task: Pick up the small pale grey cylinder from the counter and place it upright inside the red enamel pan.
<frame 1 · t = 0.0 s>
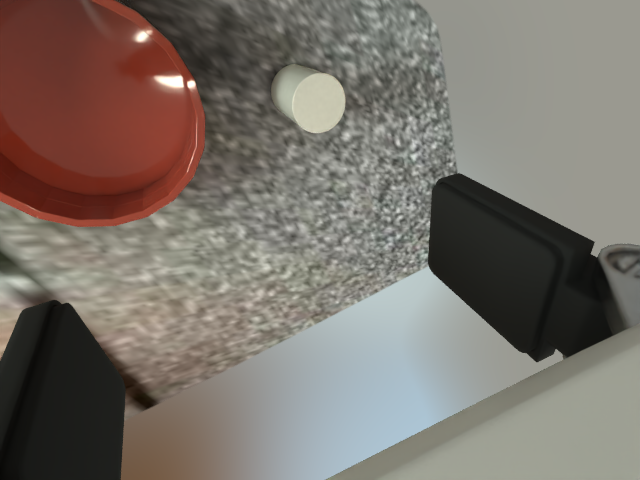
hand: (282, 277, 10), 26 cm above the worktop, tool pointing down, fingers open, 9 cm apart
pan: (92, 106, 28), on the worktop
pale grey cylinder: (294, 91, 33), on the worktop
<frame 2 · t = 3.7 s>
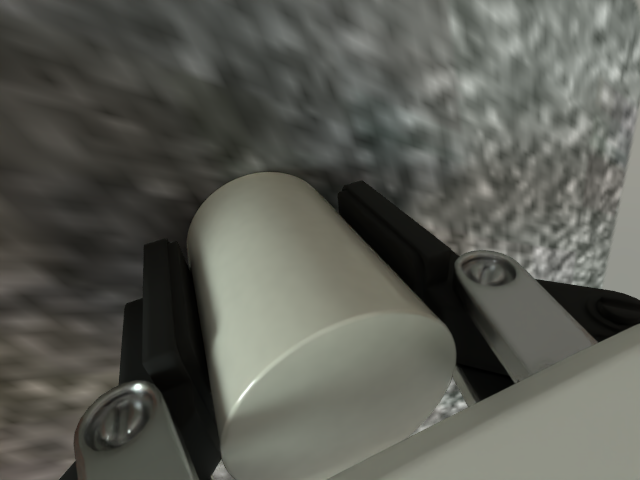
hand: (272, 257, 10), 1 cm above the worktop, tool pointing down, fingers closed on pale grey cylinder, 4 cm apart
pale grey cylinder: (263, 241, 11), on the worktop, touching gripper
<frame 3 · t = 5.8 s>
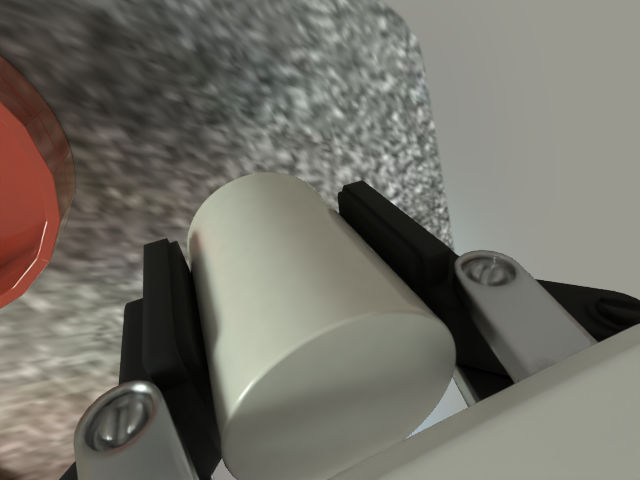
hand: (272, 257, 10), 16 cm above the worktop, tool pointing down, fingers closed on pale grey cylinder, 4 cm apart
pale grey cylinder: (264, 241, 11), point 15 cm above the worktop, touching gripper
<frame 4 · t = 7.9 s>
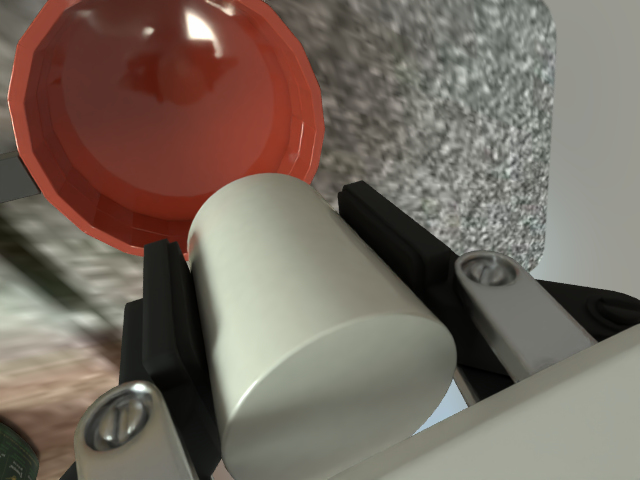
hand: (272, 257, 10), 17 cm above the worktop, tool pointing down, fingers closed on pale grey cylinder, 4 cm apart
pan: (184, 118, 23), on the worktop
pale grey cylinder: (264, 242, 11), point 16 cm above the worktop, touching gripper
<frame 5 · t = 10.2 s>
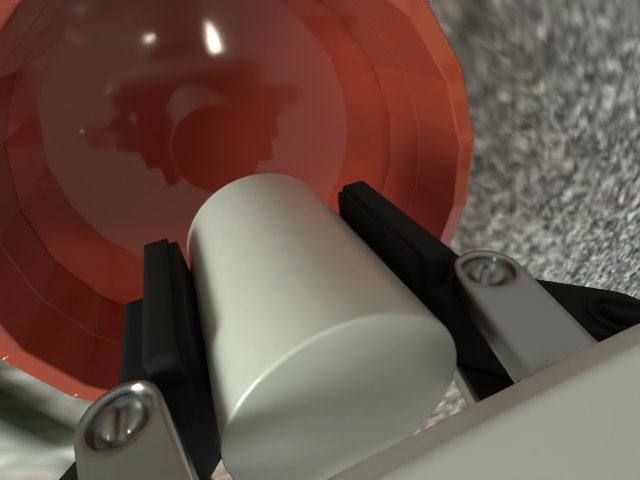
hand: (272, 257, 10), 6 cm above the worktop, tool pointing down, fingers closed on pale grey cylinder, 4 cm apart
pan: (231, 177, 15), on the worktop
pale grey cylinder: (264, 242, 11), point 5 cm above the worktop, touching gripper
when the fingers open (1 cm above the worktop, at t = 11.9 s): pale grey cylinder stays where it is, resting on pan.
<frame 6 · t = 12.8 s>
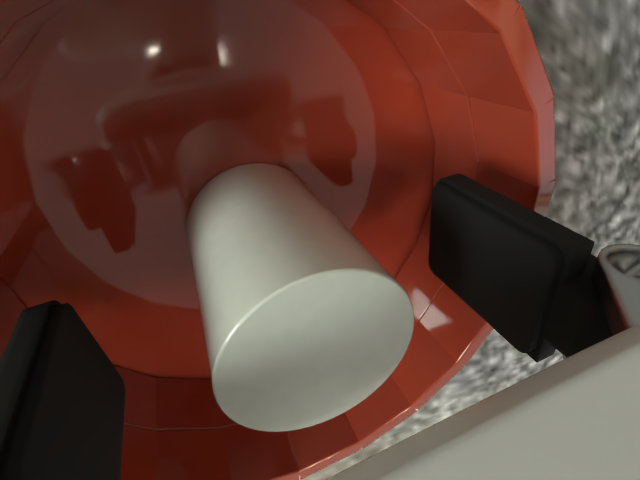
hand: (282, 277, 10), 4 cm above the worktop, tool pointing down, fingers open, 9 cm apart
pan: (251, 217, 13), on the worktop
pale grey cylinder: (255, 226, 12), resting on pan
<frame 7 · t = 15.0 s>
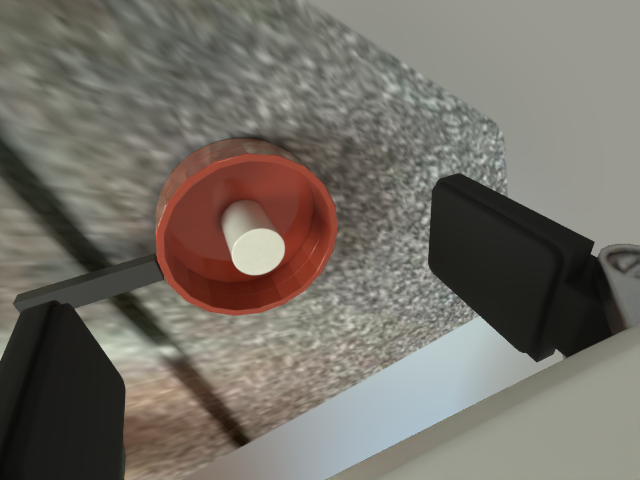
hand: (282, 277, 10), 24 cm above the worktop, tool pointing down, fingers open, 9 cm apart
pan: (243, 218, 35), on the worktop
pale grey cylinder: (244, 221, 35), resting on pan
pan handle: (93, 286, 29), point 3 cm above the worktop
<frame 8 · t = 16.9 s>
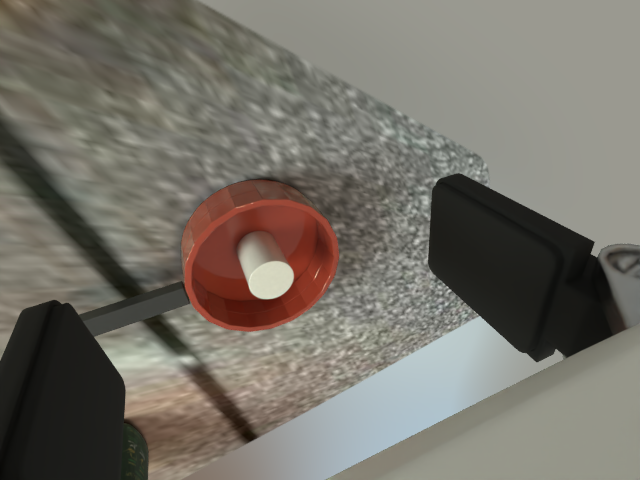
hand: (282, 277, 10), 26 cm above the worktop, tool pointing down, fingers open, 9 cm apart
pan: (255, 245, 40), on the worktop
pale grey cylinder: (256, 248, 39), resting on pan
coffee jar: (110, 444, 46), on the worktop
pan handle: (130, 310, 33), point 3 cm above the worktop
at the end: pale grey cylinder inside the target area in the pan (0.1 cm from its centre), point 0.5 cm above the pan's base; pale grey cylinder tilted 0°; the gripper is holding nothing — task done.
